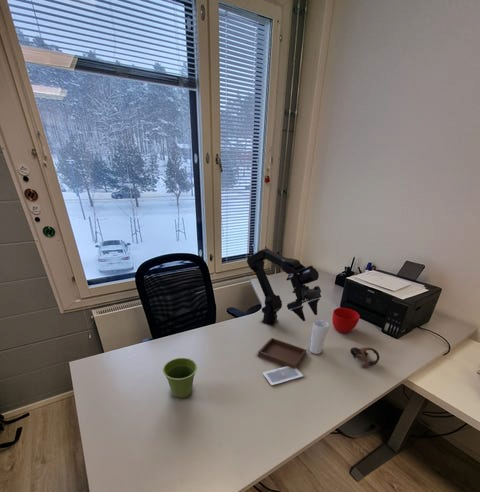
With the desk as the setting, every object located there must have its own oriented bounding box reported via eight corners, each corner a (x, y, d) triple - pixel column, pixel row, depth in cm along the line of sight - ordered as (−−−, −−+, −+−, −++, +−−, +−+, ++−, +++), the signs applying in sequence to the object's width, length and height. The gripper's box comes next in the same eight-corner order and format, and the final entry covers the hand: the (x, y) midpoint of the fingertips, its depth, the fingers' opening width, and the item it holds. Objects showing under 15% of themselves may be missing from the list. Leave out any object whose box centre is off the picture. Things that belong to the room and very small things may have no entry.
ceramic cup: (346, 320, 152) (350, 304, 147) (359, 336, 137) (364, 319, 132) (324, 320, 151) (327, 304, 146) (334, 336, 136) (338, 319, 131)
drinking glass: (323, 348, 127) (329, 321, 119) (322, 356, 121) (328, 328, 114) (308, 345, 129) (314, 318, 121) (307, 353, 123) (312, 325, 116)
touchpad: (303, 378, 109) (304, 373, 108) (271, 387, 104) (271, 383, 102) (292, 366, 115) (293, 362, 114) (261, 374, 110) (262, 370, 109)
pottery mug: (372, 357, 123) (382, 349, 116) (369, 374, 119) (380, 368, 111) (347, 346, 125) (356, 338, 117) (343, 363, 120) (352, 357, 113)
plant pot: (183, 408, 93) (181, 384, 87) (159, 394, 98) (155, 370, 92) (204, 388, 102) (203, 365, 96) (181, 376, 107) (179, 353, 101)
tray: (258, 356, 120) (258, 351, 119) (271, 341, 130) (271, 337, 129) (294, 370, 112) (295, 365, 111) (305, 354, 123) (306, 349, 121)
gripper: (299, 286, 112) (311, 321, 113) (324, 277, 123) (335, 309, 124) (281, 293, 121) (292, 325, 122) (306, 283, 132) (316, 313, 133)
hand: (310, 317), depth 125 cm, fingers open, 9 cm apart
